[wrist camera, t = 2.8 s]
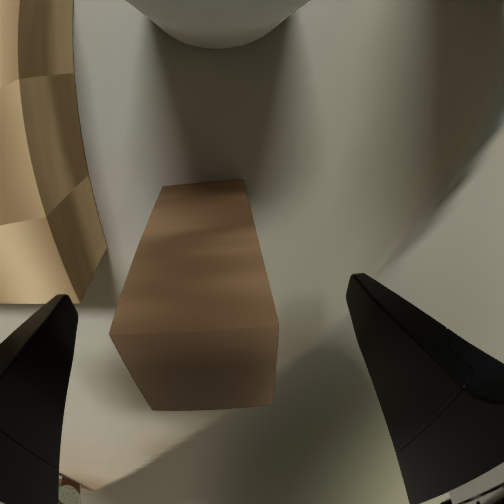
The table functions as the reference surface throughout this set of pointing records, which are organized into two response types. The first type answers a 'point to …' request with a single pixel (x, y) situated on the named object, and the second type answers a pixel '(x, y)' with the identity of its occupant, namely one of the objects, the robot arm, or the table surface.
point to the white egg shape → (217, 19)
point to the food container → (69, 490)
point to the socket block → (43, 160)
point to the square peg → (199, 304)
